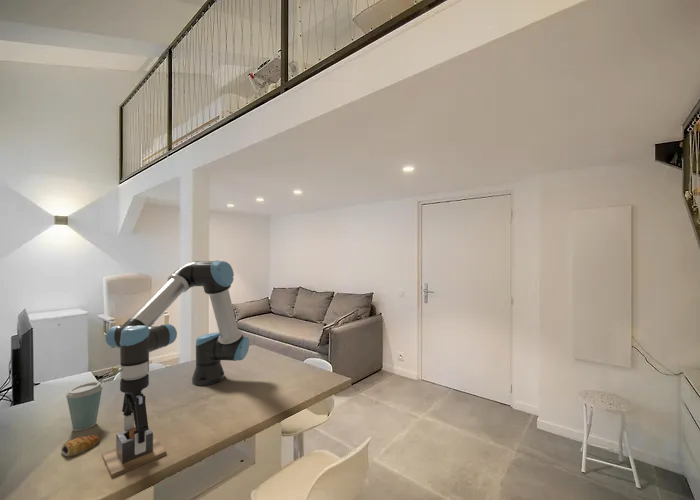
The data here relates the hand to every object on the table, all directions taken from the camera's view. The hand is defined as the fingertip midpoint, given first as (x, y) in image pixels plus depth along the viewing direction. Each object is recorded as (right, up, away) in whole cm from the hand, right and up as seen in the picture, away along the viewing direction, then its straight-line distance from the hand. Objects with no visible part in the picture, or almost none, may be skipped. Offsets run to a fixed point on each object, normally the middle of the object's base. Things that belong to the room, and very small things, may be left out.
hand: (134, 443), depth 98 cm
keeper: (0, -4, 0) cm, 4 cm away
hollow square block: (0, -3, 0) cm, 3 cm away
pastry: (-21, -5, +4) cm, 22 cm away
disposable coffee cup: (-31, -5, +18) cm, 36 cm away
